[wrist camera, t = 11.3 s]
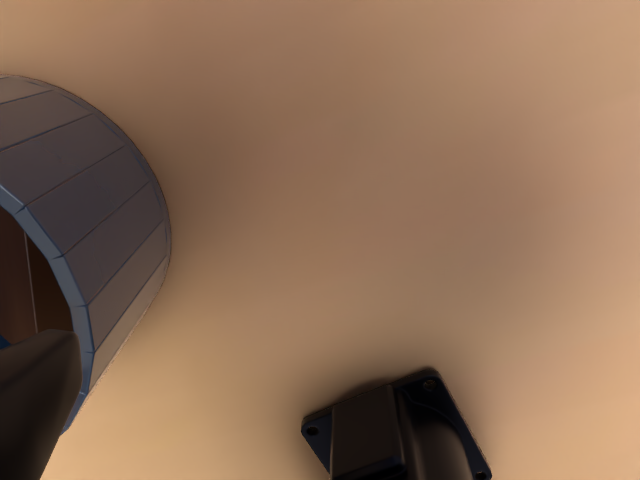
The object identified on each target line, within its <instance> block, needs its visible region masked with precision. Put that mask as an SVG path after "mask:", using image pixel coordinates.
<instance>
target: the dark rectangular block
mask: <svg viewBox="0 0 640 480" xmlns="http://www.w3.org/2000/svg"><path fill="white" fill-rule="evenodd" d="M47 329H56V330H65V331H73V326H72V321H71V315H70V309H69V306H68V304H67V302H66V299H65V297H64V295H63V293H62V291H61V289H60V287H59V284H58V282H57V280H56V278H55V276H54V274H53V272H52V270H51V267H50V265H49V263H48V261H47V259H46V258H45V257H44V256H43V254H42V253H41V252H40V251H39V249H38V248H37V247H36V245H35V244H34V243H33V242H32V240H31V239H30V238H29V237H28V235H27V234H26V233H25V231H24V230H23V229H22V228H21V226H20V225H19V224H18V223H17V221H16V220H15V219H14V218H13V216H12V215H10V214H9V213H8V212H7V211H6V210H4V209H3V208H2V207H1V206H0V335H1V336H3V337H4V338H5V339H6V340H7V341H8V342H9V343H11V344H14V343H17V342H19V341H21V340H24V339H26V338H28V337H31V336H33V335H35V334H38V333H40V332H42V331H45V330H47Z"/></svg>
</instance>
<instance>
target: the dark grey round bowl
mask: <svg viewBox="0 0 640 480" xmlns="http://www.w3.org/2000/svg"><path fill="white" fill-rule="evenodd" d="M0 206H1V207H2V208H3V209H4V210H6V211H7V212H8V213H9V214H10V215H12V216H13V218H14V219H15V220H16V221H17V223H18V224H19V225H20V226H21V228H22V229H23V230H24V231H25V233H26V234H27V235H28V237H29V238H30V239H31V240H32V242H33V243H34V244H35V245H36V247H37V248H38V249H39V251H40V252H41V253H42V254H43V256H44V257H45V258H46V259H47V261H48V263H49V265H50V267H51V270H52V272H53V274H54V276H55V278H56V280H57V282H58V284H59V287H60V289H61V291H62V293H63V295H64V297H65V299H66V302H67V304H68V306H69V309H70V315H71V321H72V326H73V332H75V333H76V334H77V335H78V337H79V341H80V352H81V363H82V375H83V379H82V386H81V389H80V392H79V395H78V397H77V399H76V401H75V404H74V406H73V408H72V410H71V412H70V415H69V417H68V419H67V421H66V423H65V426H64V428H63V430H62V432H61V434H60V436H61V435H62V434H63V433H64V432H65V431H66V430H68V429H69V427H70V426H71V425H72V423H73V422H74V420H75V419H76V417H77V416H78V414H79V413H80V411H81V410H82V408H83V407H84V405H85V403H86V402H87V400H88V399H89V397H90V396H91V394H92V393H93V391H94V390H95V388H96V387H97V385H98V384H99V382H100V381H101V379H102V378H103V376H104V375H105V373H106V372H107V370H108V369H109V367H110V366H111V364H112V363H113V361H114V360H115V358H116V357H117V355H118V354H119V352H120V351H121V349H122V348H123V346H124V345H125V343H126V342H127V340H128V339H129V337H130V336H131V334H132V333H133V331H134V330H135V328H136V327H137V325H138V324H139V322H140V321H141V319H142V318H143V316H144V315H145V313H146V311H147V310H148V308H149V306H150V304H151V303H152V301H153V299H154V298H155V296H156V295H157V293H158V291H159V289H160V287H161V285H162V283H163V281H164V278H165V275H166V271H167V268H168V265H169V258H170V251H171V229H170V222H169V216H168V211H167V207H166V204H165V200H164V197H163V194H162V191H161V189H160V187H159V184H158V182H157V180H156V178H155V175H154V174H153V172H152V170H151V169H150V167H149V165H148V163H147V162H146V160H145V158H144V157H143V156H142V154H141V153H140V152H139V150H138V149H137V148H136V146H135V145H134V144H133V142H132V141H131V140H130V139H129V138H128V137H127V136H126V135H125V134H124V133H123V132H122V131H121V129H120V128H119V127H118V126H117V125H115V124H114V123H113V122H112V121H111V120H110V119H108V118H107V117H106V116H105V115H104V114H102V113H101V112H100V111H99V110H97V109H96V108H94V107H93V106H91V105H90V104H88V103H87V102H85V101H84V100H82V99H80V98H79V97H77V96H75V95H73V94H71V93H69V92H67V91H65V90H63V89H61V88H58V87H56V86H53V85H50V84H48V83H45V82H42V81H39V80H35V79H30V78H26V77H22V76H16V75H6V74H0ZM10 345H12V344H11V343H9V342H8V341H7V340H6V339H5V338H4V337H3V336H1V335H0V349H3V348H5V347H7V346H10Z"/></svg>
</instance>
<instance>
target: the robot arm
mask: <svg viewBox="0 0 640 480" xmlns="http://www.w3.org/2000/svg"><path fill="white" fill-rule="evenodd" d="M82 379H83V375H82V363H81V352H80V341H79V337H78V335H77V334H76V333H75V332H73V331H65V330H56V329H47V330H45V331H42V332H40V333H38V334H35V335H33V336H31V337H28V338H26V339H24V340H21V341H19V342H17V343H14V344H12V345H10V346H7V347H5V348H3V349H0V480H40V478H41V476H42V474H43V472H44V469H45V467H46V465H47V463H48V461H49V459H50V456H51V454H52V452H53V450H54V448H55V445H56V443H57V441H58V439H59V437H60V434H61V432H62V430H63V428H64V426H65V423H66V421H67V419H68V417H69V415H70V412H71V410H72V408H73V406H74V404H75V401H76V399H77V397H78V395H79V392H80V389H81V386H82ZM429 380H433V381H434V382H433V383H432V384H426V383H425V382H427V381H429ZM311 426H314V427H316V429H311V428H309V427H311ZM301 432H302V435H303V436H304V438H305V439H306V441H307V442H308V444H309V445H310V447H311V448H312V450H313V451H314V452H315V454H316V455H317V457H318V458H319V460H320V461H321V463H322V464H323V466H324V467H325V468H326V470H327V471H328V473H329V474H330V480H491V478H492V473H491V470H490V467H489V464H488V462H487V461H486V459H485V457H484V455H483V453H482V451H481V449H480V448H479V446H478V444H477V442H476V440H475V438H474V436H473V435H472V433H471V431H470V429H469V427H468V425H467V423H466V422H465V420H464V418H463V416H462V414H461V412H460V410H459V409H458V407H457V405H456V403H455V401H454V399H453V397H452V396H451V394H450V392H449V390H448V388H447V386H446V384H445V383H444V381H443V379H442V377H441V375H440V374H439V373H438V372H437V371H435V370H432V369H428V370H424V371H421V372H419V373H416V374H413V375H411V376H408V377H406V378H403V379H401V380H398V381H396V382H393V383H391V384H388V385H384V386H382V387H379V388H377V389H374V390H371V391H369V392H366V393H364V394H361V395H359V396H356V397H354V398H351V399H349V400H346V401H344V402H341V403H339V404H336V405H335V406H333V407H330V408H327V409H325V410H322V411H320V412H317V413H315V414H312V415H310V416H307V417H306V418H304V420H303V421H302V428H301ZM478 472H481V473H478Z"/></svg>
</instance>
